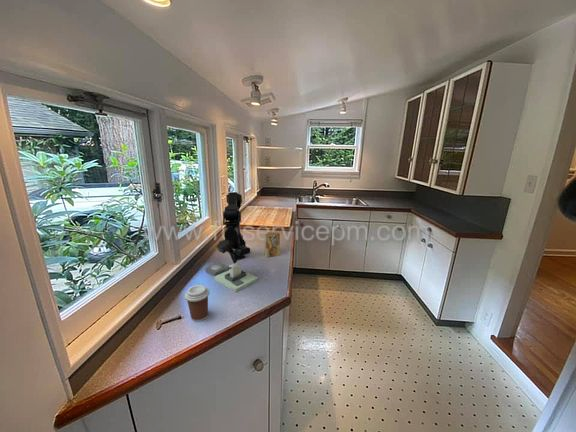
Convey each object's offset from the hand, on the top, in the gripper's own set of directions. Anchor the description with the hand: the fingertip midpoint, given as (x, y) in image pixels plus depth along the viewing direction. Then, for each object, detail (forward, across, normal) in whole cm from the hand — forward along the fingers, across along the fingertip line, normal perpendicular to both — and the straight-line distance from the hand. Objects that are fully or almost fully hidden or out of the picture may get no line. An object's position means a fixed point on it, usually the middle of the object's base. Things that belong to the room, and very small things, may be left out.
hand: (234, 263), depth 121 cm
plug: (+8, 0, -1) cm, 8 cm away
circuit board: (+9, 0, 0) cm, 9 cm away
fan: (+9, -15, -1) cm, 18 cm away
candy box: (+10, -7, +34) cm, 36 cm away
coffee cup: (+10, +12, -27) cm, 31 cm away
